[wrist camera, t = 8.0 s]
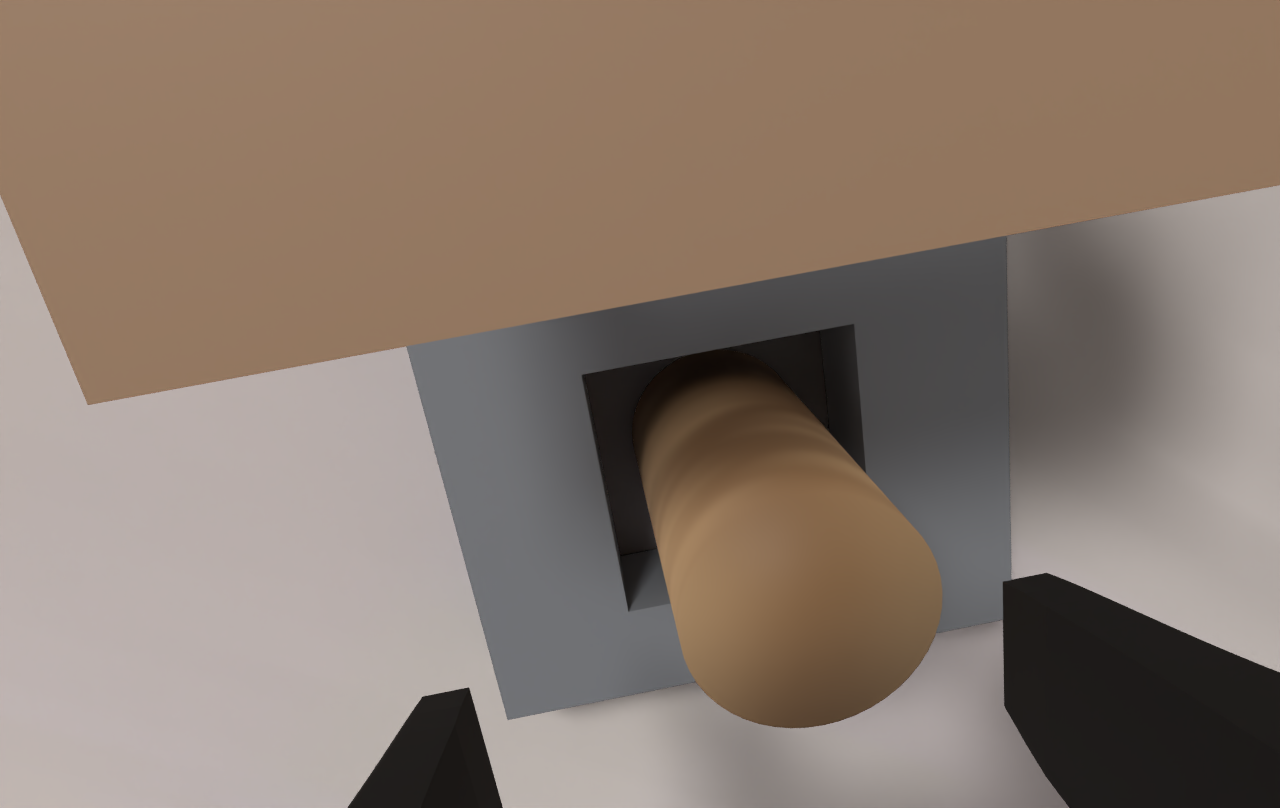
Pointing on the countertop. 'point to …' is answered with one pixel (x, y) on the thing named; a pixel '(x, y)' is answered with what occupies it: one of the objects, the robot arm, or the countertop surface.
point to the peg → (777, 548)
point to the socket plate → (608, 232)
